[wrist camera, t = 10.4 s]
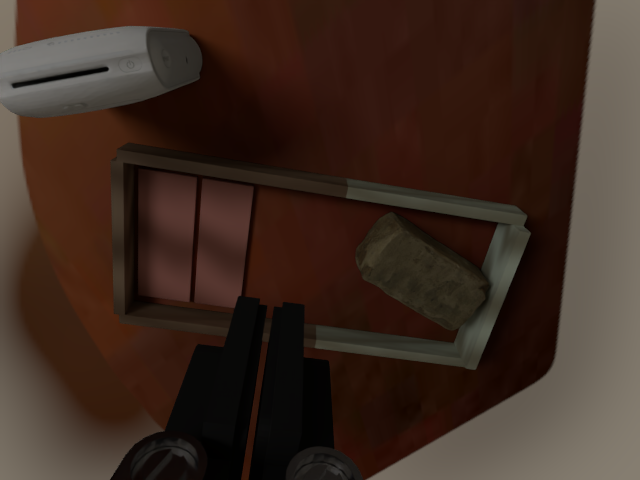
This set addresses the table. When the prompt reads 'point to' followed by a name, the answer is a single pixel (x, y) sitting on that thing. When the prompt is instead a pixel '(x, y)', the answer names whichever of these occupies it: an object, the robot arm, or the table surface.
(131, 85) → the photo printer
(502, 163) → the table surface
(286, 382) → the robot arm
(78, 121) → the table surface
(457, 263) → the stone block
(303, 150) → the table surface
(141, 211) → the frame
